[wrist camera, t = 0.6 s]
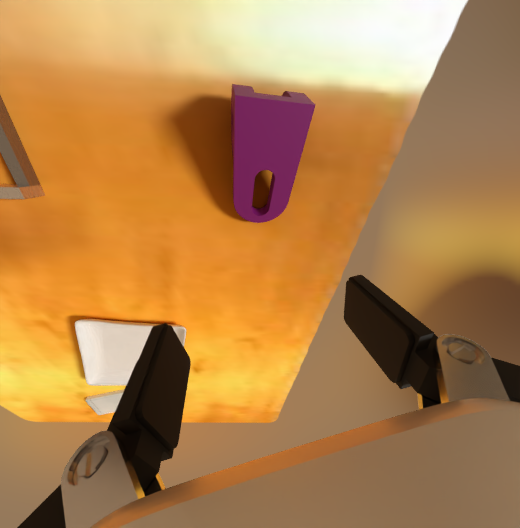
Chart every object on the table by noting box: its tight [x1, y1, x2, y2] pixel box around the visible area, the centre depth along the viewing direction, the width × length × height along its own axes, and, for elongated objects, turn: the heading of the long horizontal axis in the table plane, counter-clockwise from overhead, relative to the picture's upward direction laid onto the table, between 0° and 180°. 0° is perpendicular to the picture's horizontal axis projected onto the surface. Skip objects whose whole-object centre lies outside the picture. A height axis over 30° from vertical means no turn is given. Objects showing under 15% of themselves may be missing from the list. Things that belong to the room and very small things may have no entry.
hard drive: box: [86, 389, 125, 415], centre depth 54 cm, size 2×8×12 cm
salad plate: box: [75, 319, 186, 385], centre depth 46 cm, size 21×21×3 cm
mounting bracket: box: [231, 84, 315, 223], centre depth 31 cm, size 10×8×18 cm
